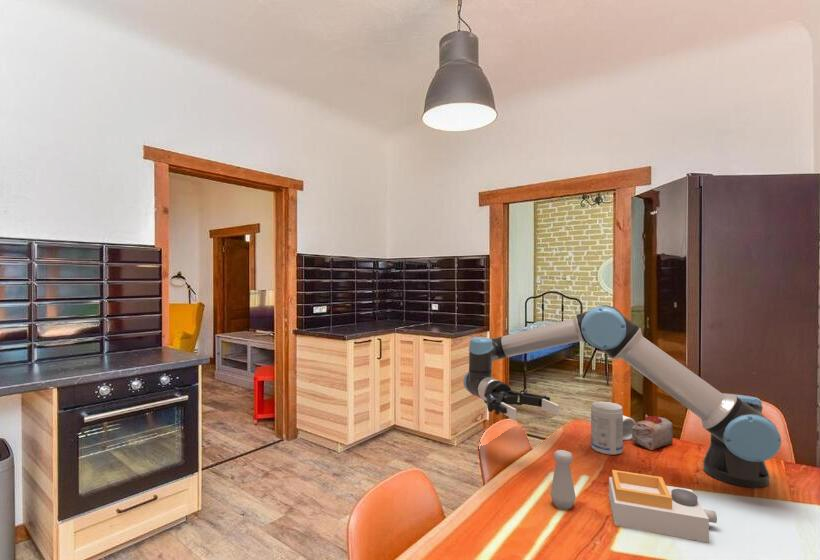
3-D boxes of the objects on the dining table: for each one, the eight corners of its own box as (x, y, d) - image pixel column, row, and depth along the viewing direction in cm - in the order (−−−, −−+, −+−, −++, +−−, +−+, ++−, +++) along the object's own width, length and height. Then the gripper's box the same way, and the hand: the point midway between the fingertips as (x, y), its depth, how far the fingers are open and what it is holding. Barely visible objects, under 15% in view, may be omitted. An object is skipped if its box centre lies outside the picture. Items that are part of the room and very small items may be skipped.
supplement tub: (613, 444, 146) (613, 401, 147) (629, 455, 137) (629, 409, 137) (585, 444, 146) (585, 401, 146) (599, 456, 136) (600, 409, 136)
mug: (614, 430, 161) (614, 408, 161) (636, 439, 152) (636, 416, 152) (588, 433, 157) (588, 411, 157) (609, 443, 148) (609, 419, 148)
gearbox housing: (705, 512, 103) (706, 481, 103) (725, 546, 90) (726, 509, 90) (609, 496, 110) (609, 467, 110) (614, 525, 97) (614, 491, 97)
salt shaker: (575, 501, 107) (575, 449, 107) (576, 513, 102) (576, 458, 102) (550, 497, 109) (551, 446, 109) (550, 508, 104) (550, 454, 104)
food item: (653, 453, 140) (653, 422, 140) (629, 445, 146) (630, 415, 146) (675, 445, 147) (675, 416, 147) (651, 438, 154) (652, 410, 154)
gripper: (528, 401, 139) (574, 422, 119) (458, 407, 131) (495, 430, 111) (529, 378, 139) (575, 395, 119) (459, 382, 131) (496, 401, 111)
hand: (537, 412), depth 115 cm, fingers open, 13 cm apart
